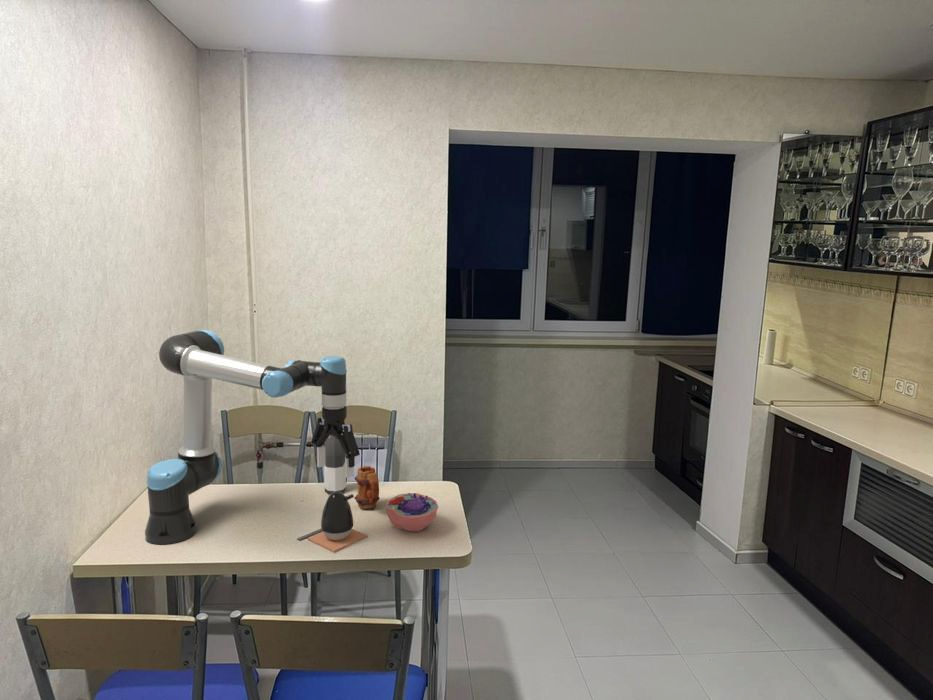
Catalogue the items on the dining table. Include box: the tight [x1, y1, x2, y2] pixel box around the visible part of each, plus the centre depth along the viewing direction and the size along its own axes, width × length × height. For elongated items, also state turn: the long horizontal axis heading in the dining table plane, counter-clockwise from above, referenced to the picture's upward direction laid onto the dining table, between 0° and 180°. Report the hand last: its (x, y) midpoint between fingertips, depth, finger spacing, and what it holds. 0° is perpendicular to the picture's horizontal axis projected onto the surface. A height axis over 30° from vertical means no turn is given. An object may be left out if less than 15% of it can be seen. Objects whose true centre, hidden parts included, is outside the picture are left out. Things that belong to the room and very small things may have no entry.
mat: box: [306, 528, 369, 554], centre depth 211 cm, size 13×14×1 cm
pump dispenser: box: [320, 492, 355, 540], centre depth 209 cm, size 10×10×15 cm
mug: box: [353, 465, 380, 510], centre depth 232 cm, size 15×8×15 cm, turn 27°
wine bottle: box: [323, 435, 347, 496], centre depth 246 cm, size 8×8×30 cm
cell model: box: [385, 492, 439, 533], centre depth 219 cm, size 17×20×11 cm
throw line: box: [296, 528, 323, 542], centre depth 216 cm, size 2×18×1 cm, turn 141°
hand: (335, 471), depth 207 cm, fingers open, 13 cm apart
